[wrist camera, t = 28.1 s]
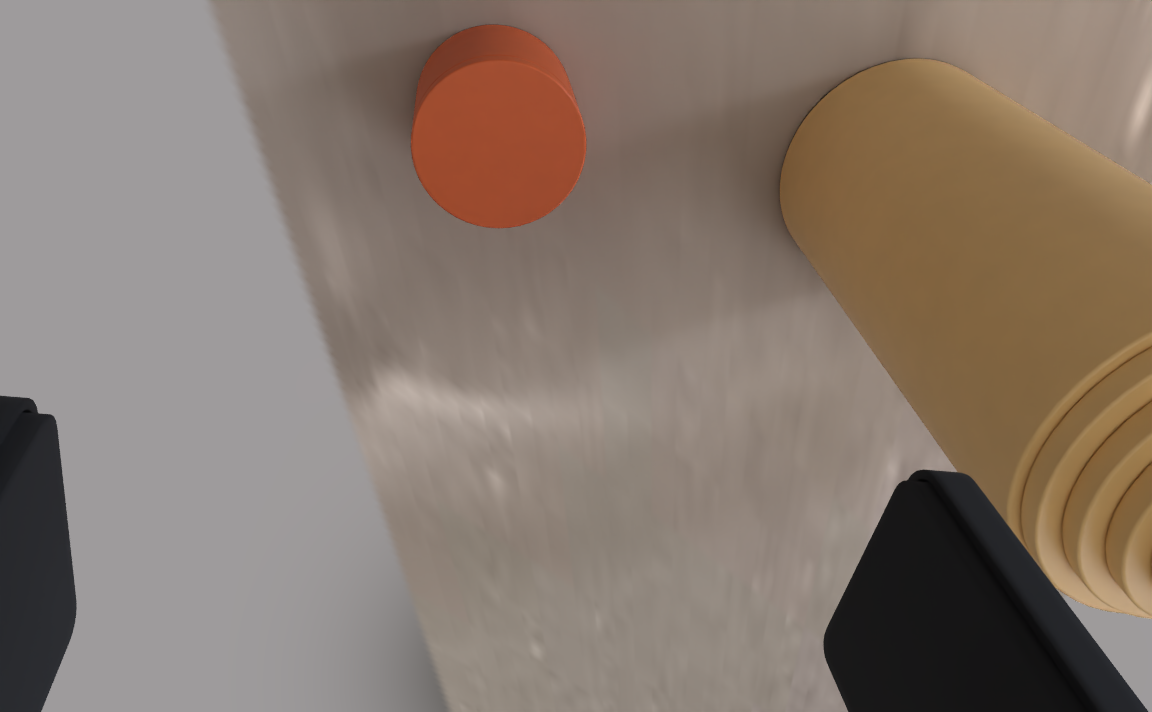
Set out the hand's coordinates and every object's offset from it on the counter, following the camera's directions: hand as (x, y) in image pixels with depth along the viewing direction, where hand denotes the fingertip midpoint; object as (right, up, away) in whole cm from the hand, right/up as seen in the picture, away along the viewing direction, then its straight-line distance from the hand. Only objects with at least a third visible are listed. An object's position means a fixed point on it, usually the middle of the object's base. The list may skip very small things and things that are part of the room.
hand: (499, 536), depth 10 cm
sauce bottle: (+10, +7, +16) cm, 20 cm away
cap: (-1, +9, +13) cm, 16 cm away
